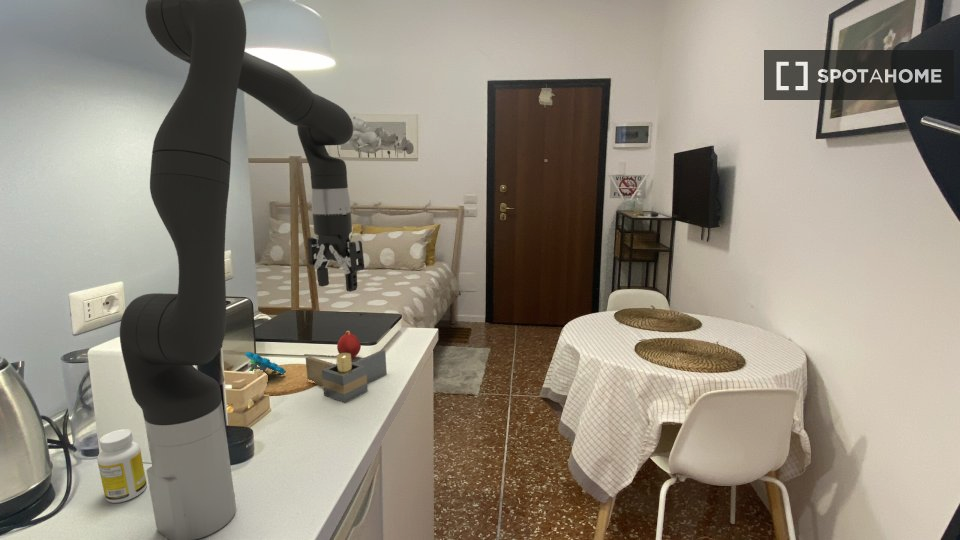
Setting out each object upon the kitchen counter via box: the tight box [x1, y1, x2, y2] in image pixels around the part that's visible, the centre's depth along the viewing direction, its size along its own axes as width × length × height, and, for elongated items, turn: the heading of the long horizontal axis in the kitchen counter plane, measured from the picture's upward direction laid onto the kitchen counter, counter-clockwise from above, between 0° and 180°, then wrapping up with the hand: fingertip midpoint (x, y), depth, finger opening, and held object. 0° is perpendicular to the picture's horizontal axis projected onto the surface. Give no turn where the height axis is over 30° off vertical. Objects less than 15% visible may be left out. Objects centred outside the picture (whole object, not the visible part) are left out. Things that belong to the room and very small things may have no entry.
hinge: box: [305, 349, 387, 404], centre depth 117 cm, size 16×16×6 cm
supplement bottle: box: [96, 428, 148, 504], centre depth 78 cm, size 5×5×10 cm
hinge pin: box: [336, 353, 352, 374], centre depth 110 cm, size 3×3×9 cm
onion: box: [336, 330, 362, 361], centre depth 129 cm, size 6×6×8 cm
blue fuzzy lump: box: [244, 351, 287, 375], centre depth 119 cm, size 11×6×10 cm
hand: (337, 288), depth 106 cm, fingers open, 8 cm apart
